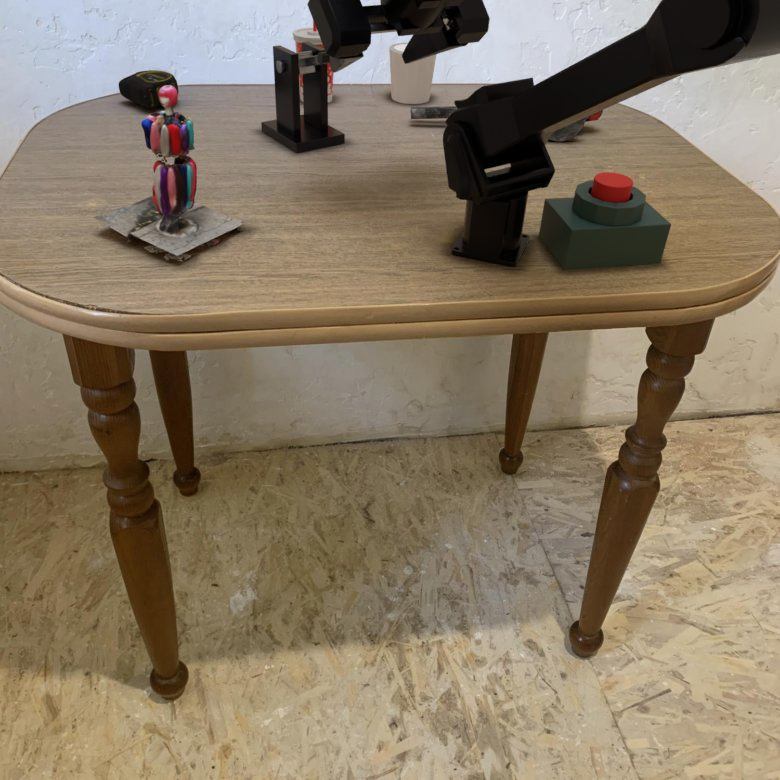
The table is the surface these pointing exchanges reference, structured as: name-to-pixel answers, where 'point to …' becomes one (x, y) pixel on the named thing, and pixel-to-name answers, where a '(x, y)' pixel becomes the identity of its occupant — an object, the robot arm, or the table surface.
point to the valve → (444, 111)
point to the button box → (602, 230)
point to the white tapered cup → (410, 77)
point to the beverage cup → (299, 37)
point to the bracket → (289, 123)
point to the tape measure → (146, 87)
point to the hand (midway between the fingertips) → (369, 63)
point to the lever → (311, 61)
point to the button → (612, 187)
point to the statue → (171, 191)
